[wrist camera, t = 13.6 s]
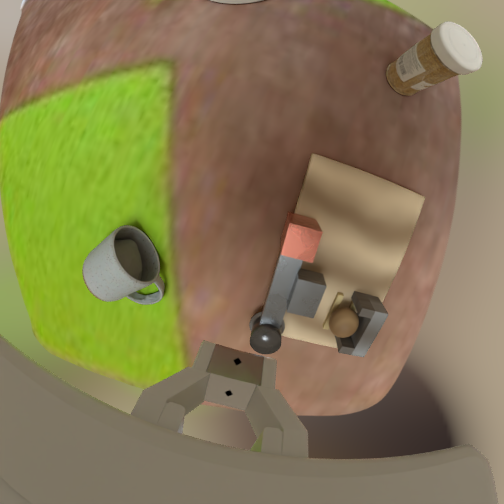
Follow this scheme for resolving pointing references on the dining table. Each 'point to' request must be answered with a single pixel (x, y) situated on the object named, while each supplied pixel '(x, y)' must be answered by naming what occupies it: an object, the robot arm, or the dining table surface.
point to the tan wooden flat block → (352, 249)
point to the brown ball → (343, 322)
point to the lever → (290, 283)
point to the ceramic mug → (123, 267)
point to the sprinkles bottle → (435, 59)
